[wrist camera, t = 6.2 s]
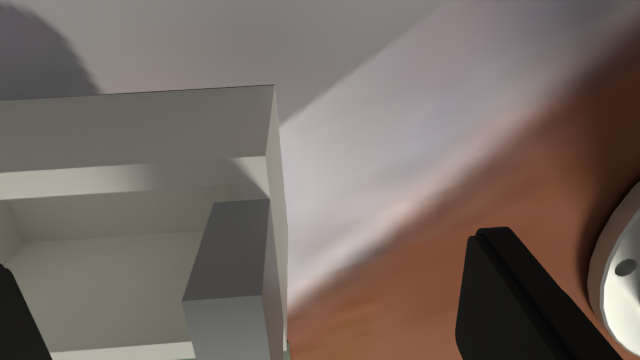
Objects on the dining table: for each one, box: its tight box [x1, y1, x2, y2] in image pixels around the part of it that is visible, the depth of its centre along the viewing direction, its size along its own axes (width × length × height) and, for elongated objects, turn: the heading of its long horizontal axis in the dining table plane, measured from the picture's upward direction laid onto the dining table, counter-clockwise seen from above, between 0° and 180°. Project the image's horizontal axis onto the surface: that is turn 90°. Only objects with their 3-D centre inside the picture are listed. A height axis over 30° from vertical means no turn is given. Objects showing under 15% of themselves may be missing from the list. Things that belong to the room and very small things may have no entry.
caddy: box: [0, 84, 288, 360], centre depth 11 cm, size 10×6×9 cm, turn 92°
